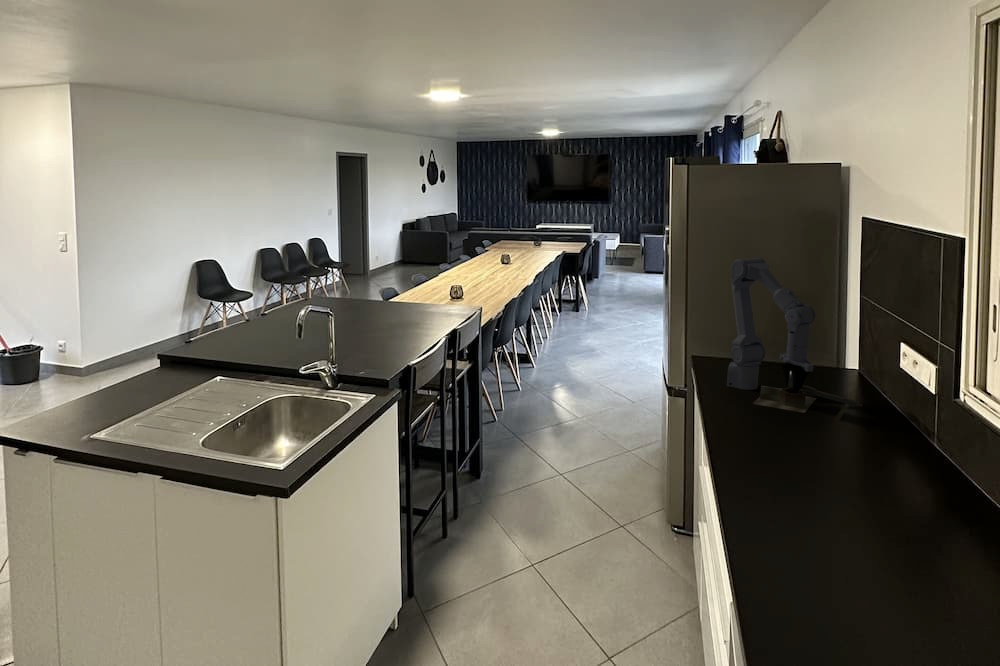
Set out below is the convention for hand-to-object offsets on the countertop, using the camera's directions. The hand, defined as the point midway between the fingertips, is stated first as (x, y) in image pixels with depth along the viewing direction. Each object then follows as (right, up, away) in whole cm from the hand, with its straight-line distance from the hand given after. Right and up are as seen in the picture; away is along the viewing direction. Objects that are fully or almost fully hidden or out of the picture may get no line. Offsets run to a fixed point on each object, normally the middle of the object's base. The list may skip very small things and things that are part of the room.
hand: (793, 388), depth 200 cm
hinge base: (-1, -5, +4) cm, 7 cm away
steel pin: (0, -2, 0) cm, 3 cm away
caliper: (+11, -5, +3) cm, 13 cm away
